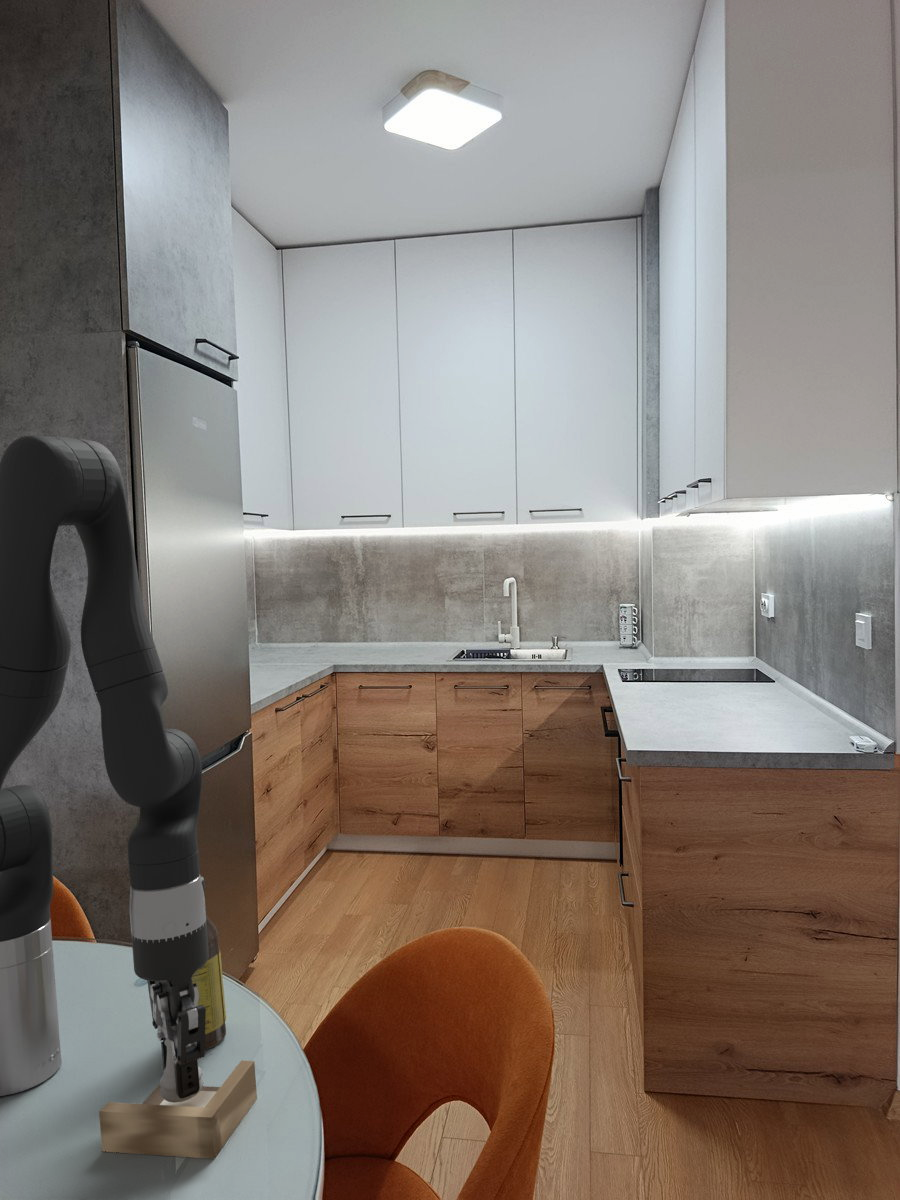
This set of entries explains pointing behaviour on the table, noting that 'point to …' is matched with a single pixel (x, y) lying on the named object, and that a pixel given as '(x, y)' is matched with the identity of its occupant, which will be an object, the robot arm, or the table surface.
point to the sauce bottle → (212, 988)
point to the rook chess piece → (173, 1076)
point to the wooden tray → (180, 1119)
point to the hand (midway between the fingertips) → (181, 1082)
